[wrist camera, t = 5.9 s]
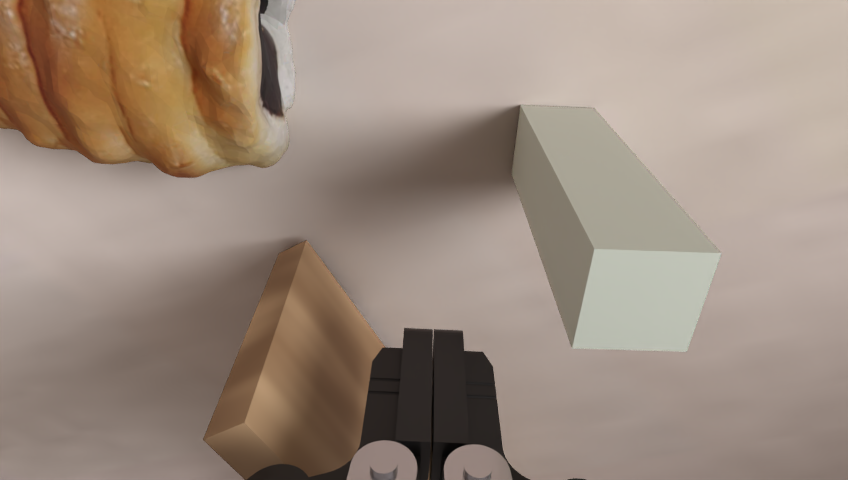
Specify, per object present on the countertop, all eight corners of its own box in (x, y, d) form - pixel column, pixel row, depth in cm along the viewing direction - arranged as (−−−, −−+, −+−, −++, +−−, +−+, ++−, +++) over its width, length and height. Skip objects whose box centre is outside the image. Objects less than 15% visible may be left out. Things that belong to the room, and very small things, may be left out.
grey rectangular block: (594, 107, 15) (722, 252, 9) (515, 511, 24) (550, 735, 18) (520, 104, 15) (594, 249, 9) (467, 510, 24) (485, 733, 18)
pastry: (-33, 129, 16) (-153, 186, 13) (-129, -167, 13) (-326, -196, 9) (308, 153, 16) (278, 214, 13) (301, -128, 13) (259, -142, 10)
